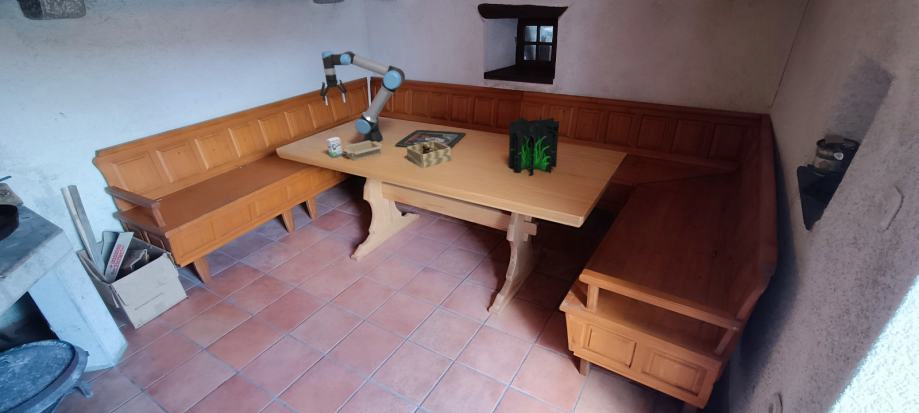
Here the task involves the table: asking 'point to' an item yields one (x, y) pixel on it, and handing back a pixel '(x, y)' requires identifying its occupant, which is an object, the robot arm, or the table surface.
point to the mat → (336, 155)
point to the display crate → (429, 154)
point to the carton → (362, 150)
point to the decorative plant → (533, 145)
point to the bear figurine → (427, 149)
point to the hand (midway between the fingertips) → (335, 103)
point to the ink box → (334, 146)
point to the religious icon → (431, 138)
